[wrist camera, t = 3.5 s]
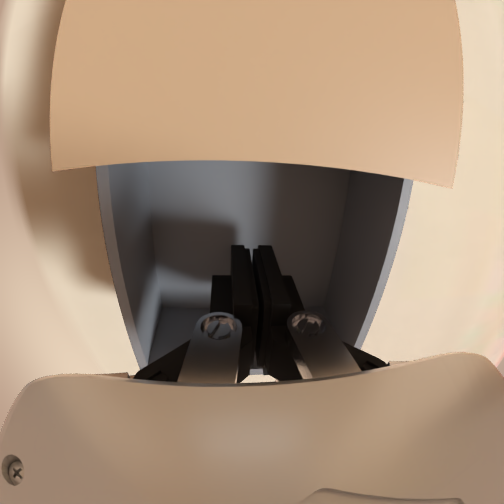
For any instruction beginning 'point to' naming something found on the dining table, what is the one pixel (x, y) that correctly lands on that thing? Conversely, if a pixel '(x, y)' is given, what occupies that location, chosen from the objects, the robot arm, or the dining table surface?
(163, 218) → the tray
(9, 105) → the dining table surface
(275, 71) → the mailer sleeve
